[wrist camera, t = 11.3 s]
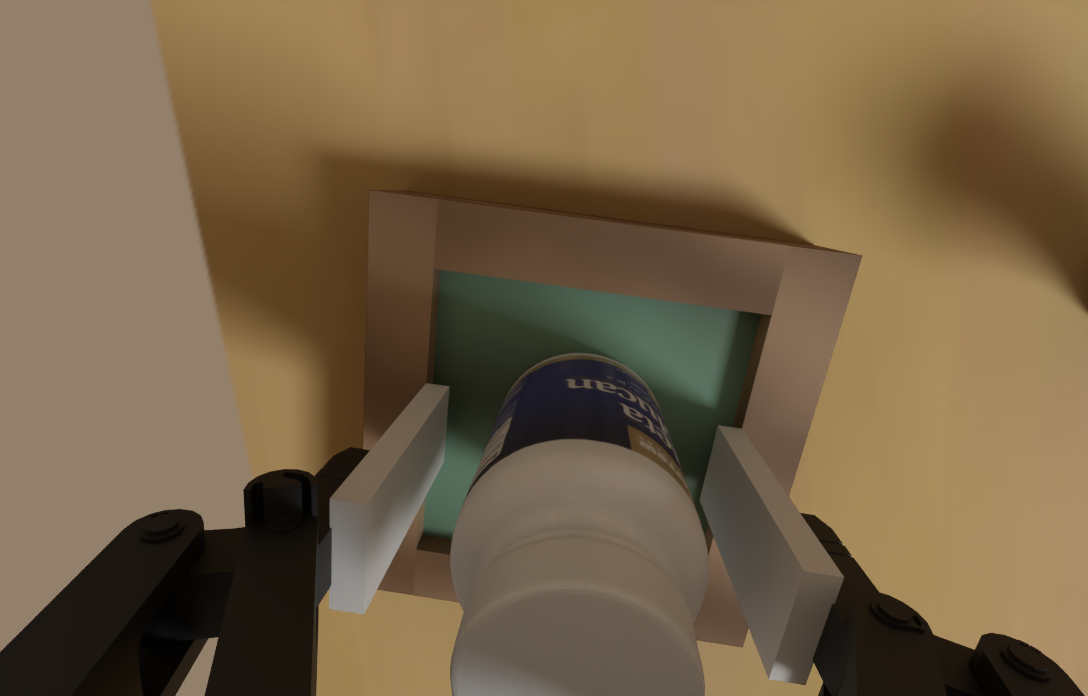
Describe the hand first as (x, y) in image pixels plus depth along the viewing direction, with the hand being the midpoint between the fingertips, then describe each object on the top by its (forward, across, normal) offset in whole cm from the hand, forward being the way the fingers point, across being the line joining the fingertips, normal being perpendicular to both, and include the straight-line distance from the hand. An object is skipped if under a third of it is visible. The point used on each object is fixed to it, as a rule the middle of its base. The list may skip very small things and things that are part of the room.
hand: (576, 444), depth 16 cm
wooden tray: (+3, 0, 0) cm, 3 cm away
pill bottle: (+1, 0, 0) cm, 1 cm away
